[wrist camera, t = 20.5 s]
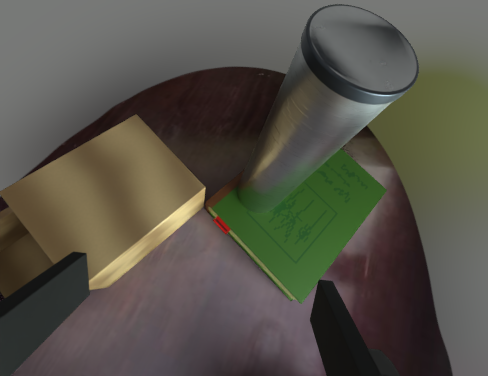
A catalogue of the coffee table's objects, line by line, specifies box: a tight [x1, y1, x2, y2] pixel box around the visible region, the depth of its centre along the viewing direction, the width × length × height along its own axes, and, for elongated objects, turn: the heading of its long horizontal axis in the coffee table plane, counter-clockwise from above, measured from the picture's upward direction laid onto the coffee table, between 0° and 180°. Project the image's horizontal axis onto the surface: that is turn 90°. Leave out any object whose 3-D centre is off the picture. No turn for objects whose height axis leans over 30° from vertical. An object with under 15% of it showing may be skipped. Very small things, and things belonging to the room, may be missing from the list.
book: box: [205, 148, 387, 304], centre depth 37 cm, size 25×19×4 cm
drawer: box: [0, 207, 54, 298], centre depth 25 cm, size 20×12×7 cm, turn 135°
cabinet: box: [0, 114, 205, 290], centre depth 30 cm, size 17×14×9 cm
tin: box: [237, 4, 419, 213], centre depth 24 cm, size 7×7×24 cm
